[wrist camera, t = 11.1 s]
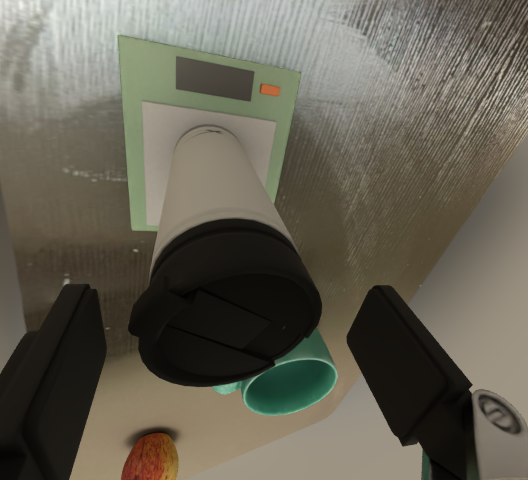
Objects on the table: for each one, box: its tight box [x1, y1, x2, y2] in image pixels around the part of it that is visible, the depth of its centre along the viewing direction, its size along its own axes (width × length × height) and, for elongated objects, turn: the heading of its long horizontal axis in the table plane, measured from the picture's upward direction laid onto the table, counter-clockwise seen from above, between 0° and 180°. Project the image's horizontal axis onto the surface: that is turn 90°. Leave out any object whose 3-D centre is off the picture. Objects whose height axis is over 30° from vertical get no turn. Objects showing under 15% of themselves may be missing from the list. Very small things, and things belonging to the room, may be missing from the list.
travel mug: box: [128, 124, 322, 387], centre depth 17 cm, size 6×7×20 cm
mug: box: [212, 328, 337, 415], centre depth 40 cm, size 17×13×10 cm
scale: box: [118, 35, 301, 231], centre depth 27 cm, size 16×14×3 cm
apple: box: [121, 433, 178, 480], centre depth 49 cm, size 9×9×10 cm
